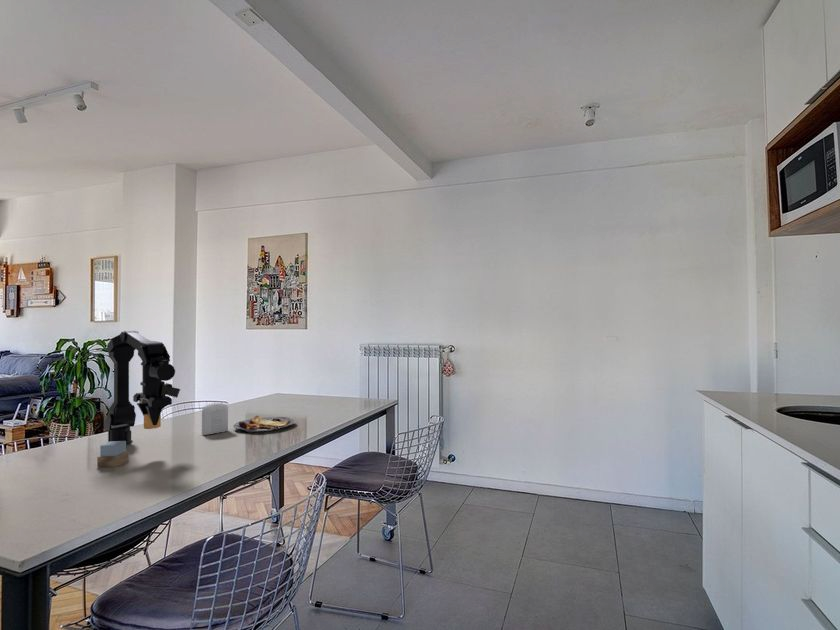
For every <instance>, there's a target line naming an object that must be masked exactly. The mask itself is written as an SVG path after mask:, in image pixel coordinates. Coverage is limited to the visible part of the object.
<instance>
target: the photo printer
mask: <svg viewBox="0 0 840 630" xmlns="http://www.w3.org/2000/svg"><path fill="white" fill-rule="evenodd" d="M225 431H227V432H228V431H229V406H228V404H227V403H223V402H213V403H208V404H206V405H203V407H202V409H201V435H202V436H209V435H214V433H215V434H220V432H221V433H226V432H225Z"/></svg>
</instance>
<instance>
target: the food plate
mask: <svg viewBox="0 0 840 630" xmlns="http://www.w3.org/2000/svg"><path fill="white" fill-rule="evenodd" d="M295 423H296V420H295V419H292V418H290V417H286V416H285V417H284V416H274V417H273V416H271V417H270V416H267V417H265V416H264V417H260V416H259V415H255V416H253V418H250V419H249V418H248V419H245V420H241V421H238V422H236V423H235V424H234V425H233V428H234V429H239V430H242V431H244V432H247V433H258V432H259V433H262V432H263V433H264V431H266V432H273V431H277V430H280V429H283V428H286V427H288V426H291V425H294V424H295ZM278 427H280V428H278ZM257 429H267V430H257Z"/></svg>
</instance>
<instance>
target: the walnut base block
mask: <svg viewBox="0 0 840 630" xmlns="http://www.w3.org/2000/svg"><path fill="white" fill-rule="evenodd" d="M96 460H97V462H96V463H97V464H96V465H97V466H96V467H99V468H117V466H118V467H120V466H121V464H122V465H124V464H125V463H127V462H129V450H126V452H124V453H122V454H120V455H118V456H103V457H100V455H99V456H96ZM123 463H124V464H123ZM119 465H120V466H119Z"/></svg>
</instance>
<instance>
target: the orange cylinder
mask: <svg viewBox="0 0 840 630" xmlns="http://www.w3.org/2000/svg"><path fill="white" fill-rule="evenodd" d="M161 417H162V416H161V414H160V417H159V420H158V423H157V425H153V424H152V421H151V419H150V416H149V414H144V416H143V429H144V430H151V429H152V430H153V429H158V428H161V425H162V423H161V421H162V419H161Z"/></svg>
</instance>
